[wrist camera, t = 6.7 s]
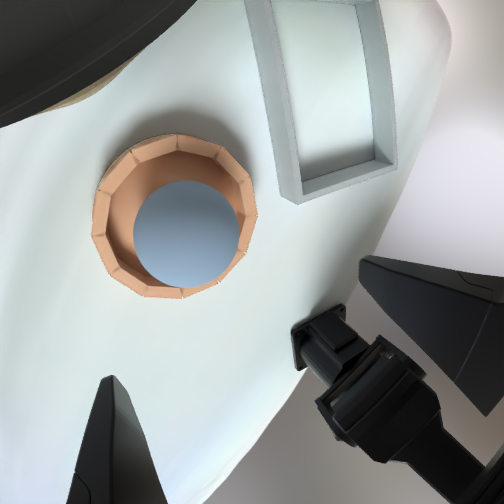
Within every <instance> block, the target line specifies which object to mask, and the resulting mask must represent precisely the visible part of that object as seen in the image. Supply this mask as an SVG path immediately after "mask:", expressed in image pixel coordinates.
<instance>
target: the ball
mask: <svg viewBox="0 0 504 504" xmlns="http://www.w3.org/2000/svg"><path fill="white" fill-rule="evenodd" d="M133 242H134V247H135V251H136V254H137V256H138V258H139V260H140V262H141V264H142V265H143V266H144V268H145V269H146V270H147V271H148V272H149V273H150V274H151V275H152V276H153V277H155V278H156V279H158V280H159V281H161V282H163V283H165V284H167V285H170V286H174V287H180V288H192V287H197V286H201V285H204V284H207V283H209V282H211V281H213V280H214V279H216V278H217V277H219V276H220V275H221V274H222V273H223V272H224V271H225V270H226V269H227V268H228V266H229V265H230V263H231V262H232V260H233V258H234V256H235V254H236V251H237V248H238V243H239V225H238V220H237V217H236V214H235V212H234V209H233V208H232V206H231V204H230V203H229V201H228V200H227V199H226V198H225V197H224V196H223V195H222V194H221V193H220V192H219V191H218V190H216V189H214V188H213V187H211V186H209V185H207V184H204V183H201V182H197V181H190V180H187V181H175V182H172V183H168V184H166V185H164V186H162V187H160V188H158V189H157V190H155V191H154V192H153V193H152V194H150V195H149V196H148V197H147V199H146V200H145V201H144V202H143V204H142V205H141V207H140V209H139V210H138V213H137V215H136V218H135V222H134V227H133Z"/></svg>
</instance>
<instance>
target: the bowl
mask: <svg viewBox="0 0 504 504" xmlns="http://www.w3.org/2000/svg"><path fill="white" fill-rule="evenodd" d="M249 176H250V175H249V174H248V173H247V172H246V171H245V170H244V169H243V168H242V167H241V165H240V164H239V163H238V162H237V161H236V160H235V159H234V158H233V157H232V156H231V155H230V154H229V153H228V151H227V150H226V149H225V148H224V147H223V146H221V145H218V144H214V143H210V142H208V141H206V140H203V139H200V138H197V137H193V136H188V135H182V134H168V135H159V136H156V137H152V138H148V139H146V140H143V141H141V142H139V143H137V144H135V145H134V146H132V147H130V148H129V149H127V150H126V151H125V152H123V153H122V154H121V155H120V156H119V157H118V158H117V159H116V160H115V161H114V162H113V163H112V164H111V165H110V167H109V168H108V169H107V171H106V172H105V174H104V176H103V178H102V179H101V181H100V183H99V186H98V189H97V191H96V195H95V200H94V204H93V215H92V222H93V223H92V232H91V235H92V240H93V242H94V244H95V246H96V249H97V251H98V253H99V255H100V257H101V259H102V262H103V264H104V266H105V268H106V270H107V272H108V274H110V276H111V277H113V278H114V279H116V280H117V281H119V282H120V283H122V284H123V285H125V286H126V287H128V288H130V289H131V290H133V291H134V292H136V293H138V294H139V295H141V296H143V295H144V297H155V298H175V299H182V297H183V298H186V297H188V296H190V295H193V294H195V293H197V292H200V291H202V290H204V289H207V288H209V287H211V286H214V285H216V284H218V281H219V282H221V281H222V279H223V278H224V277H225V276H226V275H227V274H228V273H229V272H230V271H231V270H232V268H233V267H234V266H235V265H236V264H237V263H238V262H239V261H240V260H241V259H242V258H243V256H244V255H245V253H246V252H247V249H248V246H249V243H250V240H251V236H252V233H253V230H254V227H255V223H256V220H257V217H258V216H256V215H258V213H257V208H256V203H255V197H254V192H253V187H252V182H251V177H249ZM187 180H190V181H197V182H201V183H204V184H207V185H209V186H211V187H213V188H214V189H216V190H218V191H219V192H220V193H221V194H222V195H223V196H224V197H225V198H226V199H227V200H228V201H229V203H230V204H231V206H232V208H233V209H234V212H235V214H236V217H237V220H238V225H239V243H238V248H237V251H236V254H235V256H234V258H233V260H232V262H231V263H230V265H229V266H228V268H227V269H226V270H225V271H224V272H223V273H222V274H221V275H220V276H219V277H217V278H216V279H214V280H213V281H211V282H209V283H207V284H204V285H201V286H197V287H192V288H180V287H174V286H170V285H167V284H165V283H163V282H161V281H159V280H158V279H156V278H155V277H153V276H152V275H151V274H150V273H149V272H148V271H147V270H146V269H145V268H144V266H143V265H142V264H141V262H140V260H139V258H138V256H137V254H136V251H135V247H134V242H133V227H134V222H135V218H136V215H137V213H138V210H139V209H140V207H141V205H142V204H143V202H144V201H145V200H146V199H147V197H148V196H149V195H150V194H152V193H153V192H154V191H155V190H157V189H158V188H160V187H162V186H164V185H166V184H168V183H172V182H175V181H187ZM244 252H245V253H244Z"/></svg>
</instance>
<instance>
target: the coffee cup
mask: <svg viewBox="0 0 504 504" xmlns="http://www.w3.org/2000/svg"><path fill="white" fill-rule="evenodd" d="M196 1H197V0H0V128H2V127H5V126H8V125H10V124H13V123H16V122H18V121H21V120H23V119H26V118H28V117H30V116H34V115H37V114H41V113H44V112H48V111H51V110H55V109H59V108H62V107H66V106H69V105H72V104H75V103H77V102H80V101H82V100H84V99H86V98H88V97H90V96H92V95H93V94H95V93H97V92H98V91H100V90H101V89H102V88H104V87H105V86H106V85H107V84H108V83H110V82H111V81H112V80H113V79H114V78H115V77H116V76H117V75H118V74H119V73H120V72H121V71H122V70H123V69H124V68H125V67H126V66H127V65H128V64H129V63H130V62H131V61H132V60H133V59H134V58H135V57H136V56H137V55H138V54H139V53H141V52H142V51H143V50H144V49H145V48H146V47H147V46H148V45H149V44H150V43H152V42H153V41H154V40H155V39H157V38H158V37H159V36H160V35H161V34H163V33H164V32H165V31H166V30H167V29H168V28H169V27H171V26H172V25H173V24H174V23H175V22H176V21H177V20H178V19H179V18H180V17H181V16H182V15H183V14H185V12H186V11H187V10H188V9H189V8H190V7H191V6H192V5H193V4H194V3H195V2H196Z"/></svg>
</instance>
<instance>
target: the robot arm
mask: <svg viewBox="0 0 504 504" xmlns="http://www.w3.org/2000/svg"><path fill="white" fill-rule="evenodd" d="M358 278H359V281H360V283H361V284H362V286H363V287H364V288H365V289H366V290H367V292H368V293H369V294H370V295H371V296H372V297H373V299H374V300H375V301H376V302H377V304H378V305H379V306H380V307H381V308H382V309H383V311H384V312H385V313H386V314H387V315H388V316H389V317H390V318H391V319H392V320H393V321H394V322H395V323H396V324H397V325H398V326H399V327H400V328H401V329H402V330H403V331H404V332H406V334H407V335H408V336H409V337H410V338H411V339H412V340H413V341H414V342H416V344H417V345H418V346H420V348H421V349H422V350H423V351H424V352H425V353H426V354H427V355H428V356H429V357H430V358H431V359H432V360H433V361H434V362H435V363H436V364H437V365H438V366H439V367H440V368H441V369H442V371H443V372H444V373H445V374H446V375H447V376H448V377H449V378H450V379H451V380H452V381H453V382H454V384H456V386H457V387H458V388H459V389H460V390H461V391H462V392H463V393H464V394H465V395H466V397H467V398H468V399H469V400H470V401H471V402H472V403H473V404H474V405H475V406H476V408H477V409H478V410H479V411H480V412H481V413H482V414H483V415H484V416H485V417H487V416H488V414H489V413H490V412H491V411H492V410H493V409H494V407H495V406H496V405H497V404H498V403H499V401H500V400H501V399H502V398H503V396H504V277H498V276H490V275H481V274H474V273H467V272H462V271H455V270H452V269H446V268H440V267H435V266H429V265H423V264H418V263H413V262H407V261H401V260H396V259H389V258H383V257H378V256H372V255H367V256H365V257H364V258H362V259H360V261H359V275H358ZM345 318H346V306H345V305H343V304H339V305H337V306H336V307H334V308H332V309H330V310H329V311H327V312H325V313H323V314H322V315H320V316H318V317H316V318H314V319H313V320H311V321H309V322H307V323H305V324H303V325H302V326H300V327H298V328H296V329H294V330H293V331H292V332H291V340H292V348H293V355H294V362H295V368H296V369H297V371H301V370H303V369H304V368H306V367H309V368H310V369H311V370H312V372H313V373H314V374H315V375H316V376H317V377H318V378H319V380H320V381H321V382H322V383H323V384H324V385H325V386H326V387H327V389H328V390H327V391H326V392H324V393H323V394H322V395H321V396H320V397H318V398H317V399H316V400H315V403H316V404H317V406H318V410H319V411H320V413H321V414H322V416H323V417H324V419H325V420H326V422H327V423H328V425H329V426H330V428H331V431H332V433H333V435H334V437H335V439H336V440H337V441H344V442H346V443H347V444H349V445H350V446H352V447H356V446H357V445H358V446H359V447H360V448H361V449H362V450H363V451H364V452H365V453H367V455H369V456H370V458H371V459H373V460H374V461H377V462H380V463H387V462H388V461H390V462H397V463H404V464H408V465H409V466H410V467H411V468H412V469H413V470H414V471H415V472H416V473H417V474H419V475H420V476H421V477H422V478H423V479H424V480H425V481H426V482H427V483H428V484H430V486H431V487H433V488H434V489H435V490H436V491H437V492H438V493H439V494H440V495H441V496H443V497H444V498H445V499H446V500H447V501H448V502H449V503H450V504H504V443H503V445H502V446H501V447H500V449H499V450H498V451H497V453H496V454H495V455H494V457H493V458H492V459H491V461H490V462H489V463H488V464H487V466H486V467H485V466H484V465H483V464H482V463H480V462H479V461H478V460H477V459H476V458H475V457H474V456H473V455H472V454H471V453H470V452H469V451H468V450H466V448H464V447H463V446H462V445H461V444H460V443H459V442H458V441H457V440H456V439H455V438H454V437H453V436H452V435H451V434H449V433H448V432H447V431H446V430H445V429H444V427H443V422H442V417H441V412H440V410H441V408H440V404H439V400H438V397H437V395H436V393H435V392H434V391H433V390H432V389H431V388H430V387H429V386H428V385H427V384H426V383H425V382H424V381H423V380H424V379H425V377H426V376H427V374H426V373H425V372H424V370H422V368H421V367H420V366H419V365H418V364H417V363H415V362H414V361H413V360H412V359H411V358H410V357H409V356H407V355H406V354H405V353H404V352H402V351H401V350H400V349H398V348H397V347H396V346H394V345H393V344H392V343H390V342H389V341H388V340H386V339H385V338H384V337H382V336H381V335H378V336H377V338H376V340H375V341H374V342H373V343H372V344H371V345H369V344H368V343H367V342H366V341H365V340H364V339H363V338H361V337H360V336H359V335H358V333H357V332H356V331H355V330H354V329H352V328H351V327H350V326H349V325H348V324H347V323H346V322H345ZM390 356H391V358H390V359H389V357H390ZM66 504H168V503H167V500H166V497H165V495H164V492H163V489H162V487H161V484H160V481H159V478H158V476H157V473H156V470H155V467H154V464H153V461H152V458H151V454H150V451H149V448H148V445H147V441H146V438H145V435H144V433H143V430H142V428H141V425H140V423H139V420H138V418H137V415H136V413H135V410H134V407H133V405H132V402H131V399H130V397H129V394H128V392H127V390H126V389H125V388H124V386H123V385H122V384H121V383H120V382H119V380H118V379H117V378H116V377H115V376H114V375H110V376H107V377H105V378H103V379H102V380H101V382H100V385H99V388H98V391H97V394H96V397H95V400H94V403H93V406H92V409H91V413H90V416H89V419H88V423H87V426H86V429H85V433H84V436H83V440H82V444H81V447H80V451H79V455H78V459H77V463H76V467H75V473H74V474H73V479H72V483H71V487H70V491H69V495H68V499H67V502H66Z"/></svg>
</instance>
